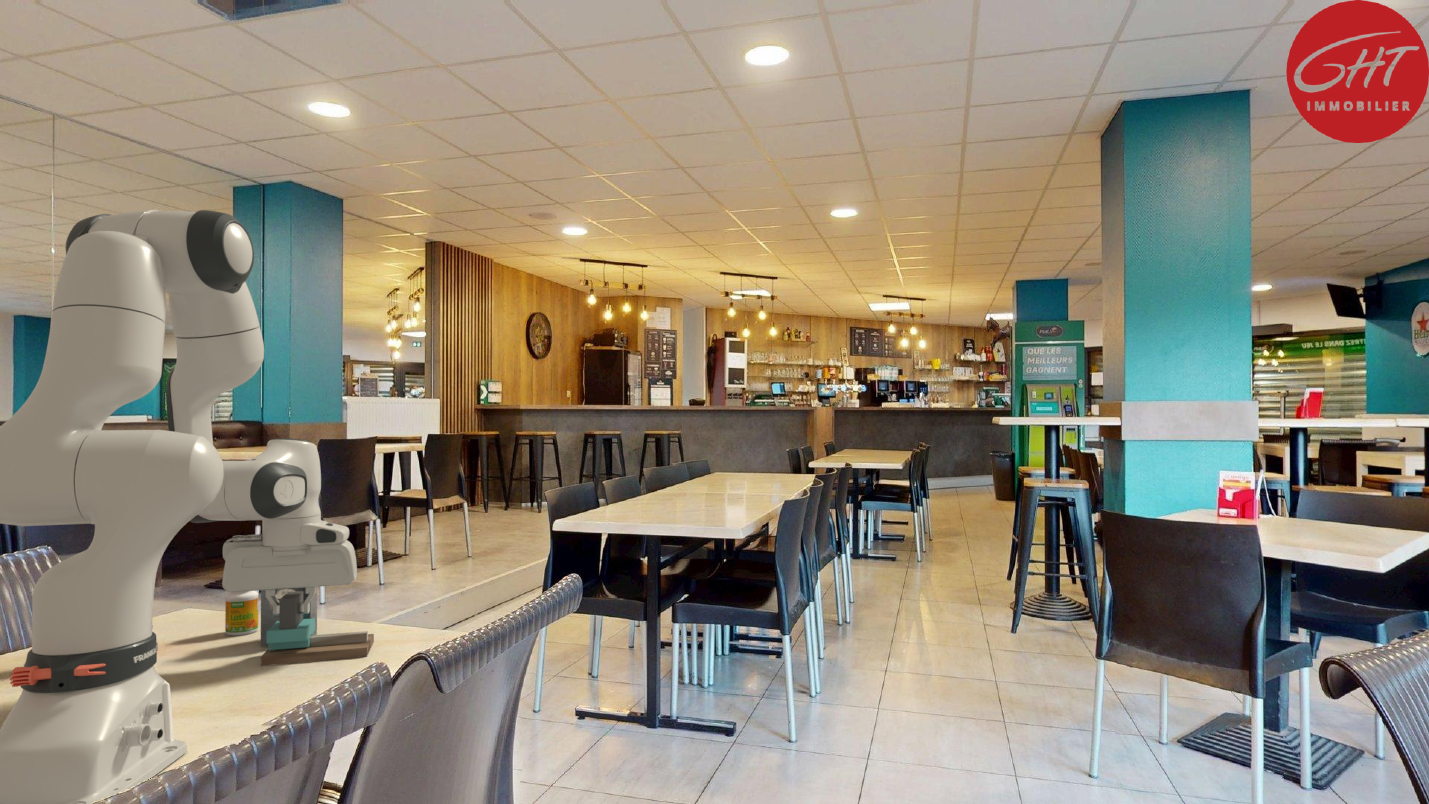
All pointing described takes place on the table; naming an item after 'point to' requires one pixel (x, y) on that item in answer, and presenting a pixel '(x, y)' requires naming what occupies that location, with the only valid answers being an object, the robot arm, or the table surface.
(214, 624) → the table surface
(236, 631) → the supplement bottle
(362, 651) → the rail board
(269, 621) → the cabinet
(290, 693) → the table surface
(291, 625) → the carriage
